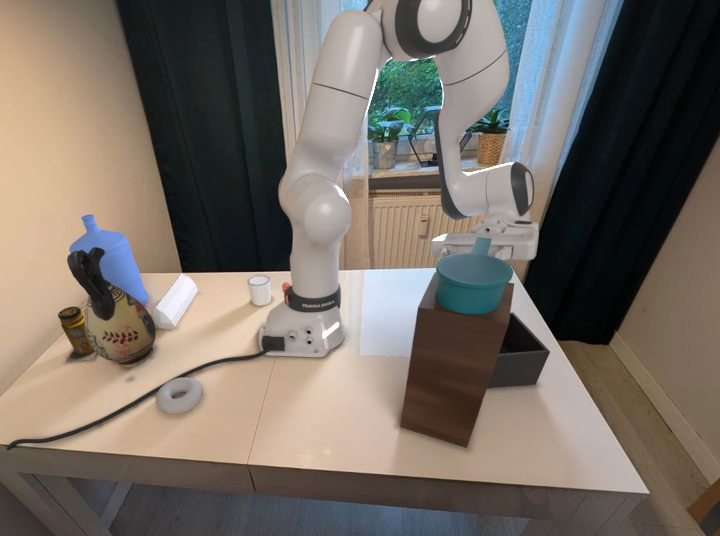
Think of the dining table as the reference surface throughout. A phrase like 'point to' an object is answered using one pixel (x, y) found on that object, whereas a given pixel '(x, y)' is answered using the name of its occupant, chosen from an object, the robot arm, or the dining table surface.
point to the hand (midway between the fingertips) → (467, 257)
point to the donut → (182, 403)
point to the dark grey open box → (518, 357)
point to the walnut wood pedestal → (451, 366)
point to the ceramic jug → (112, 314)
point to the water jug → (113, 258)
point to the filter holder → (472, 280)
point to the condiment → (76, 334)
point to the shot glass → (260, 289)
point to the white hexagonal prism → (174, 303)
